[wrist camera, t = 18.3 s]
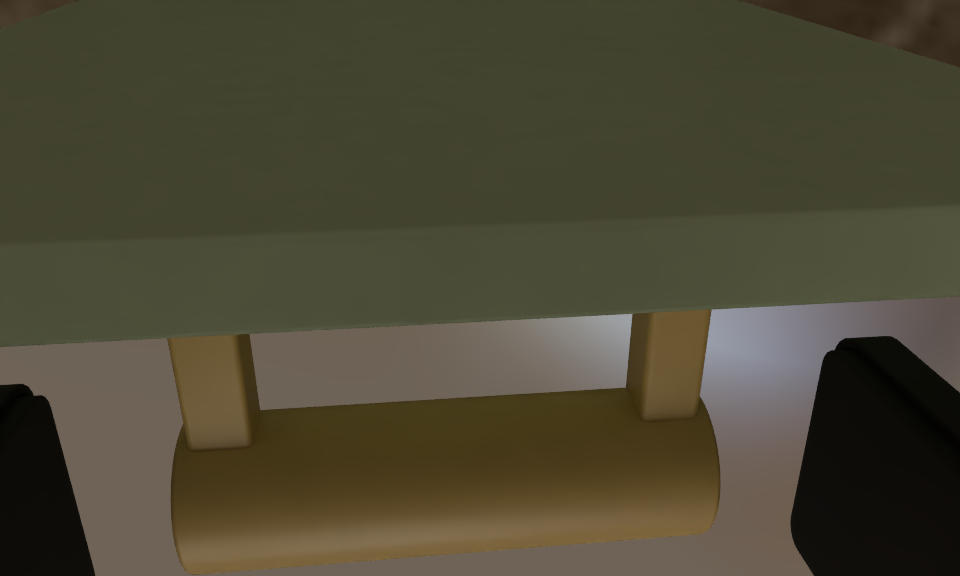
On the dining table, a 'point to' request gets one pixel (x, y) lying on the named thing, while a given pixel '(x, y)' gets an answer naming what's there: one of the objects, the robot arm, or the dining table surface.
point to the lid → (454, 237)
